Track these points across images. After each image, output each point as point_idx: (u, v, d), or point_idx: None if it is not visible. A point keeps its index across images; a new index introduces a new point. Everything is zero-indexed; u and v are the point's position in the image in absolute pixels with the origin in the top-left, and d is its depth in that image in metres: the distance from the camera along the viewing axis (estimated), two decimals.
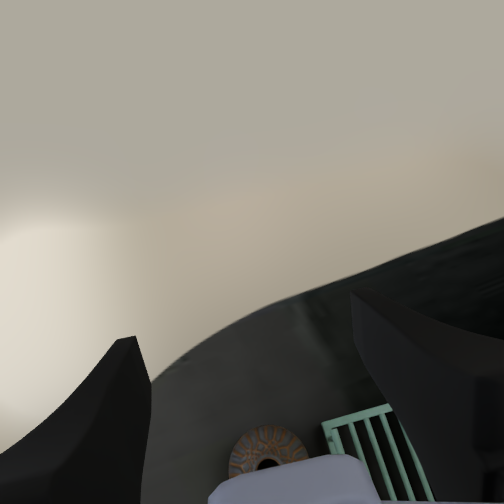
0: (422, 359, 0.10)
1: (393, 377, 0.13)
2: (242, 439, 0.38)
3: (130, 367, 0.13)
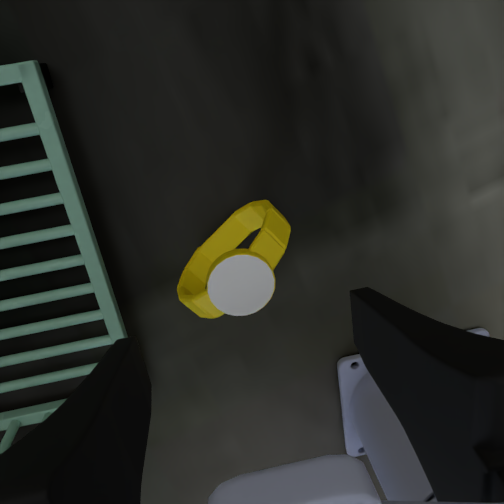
0: (422, 360, 0.10)
1: (393, 377, 0.13)
2: None
3: (130, 367, 0.13)
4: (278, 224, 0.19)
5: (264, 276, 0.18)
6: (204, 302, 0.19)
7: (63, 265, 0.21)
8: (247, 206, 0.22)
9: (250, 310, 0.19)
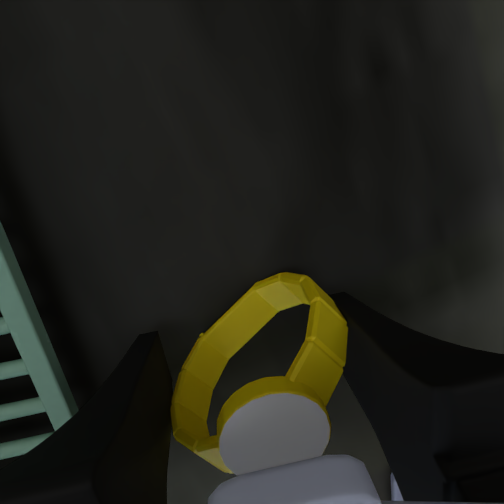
0: (389, 367, 0.10)
1: (366, 383, 0.13)
2: None
3: (154, 362, 0.13)
4: (331, 324, 0.12)
5: (313, 423, 0.11)
6: (213, 455, 0.12)
7: None
8: (275, 279, 0.15)
9: None
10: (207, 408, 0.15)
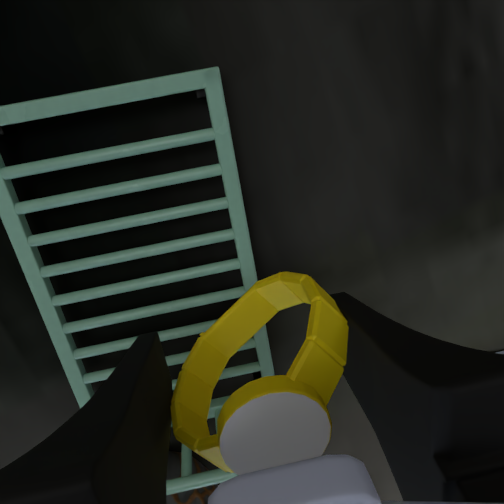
0: (389, 367, 0.10)
1: (366, 383, 0.13)
2: None
3: (154, 362, 0.13)
4: (331, 323, 0.12)
5: (313, 422, 0.11)
6: (213, 454, 0.12)
7: (220, 269, 0.21)
8: (275, 278, 0.15)
9: None
10: (208, 406, 0.15)
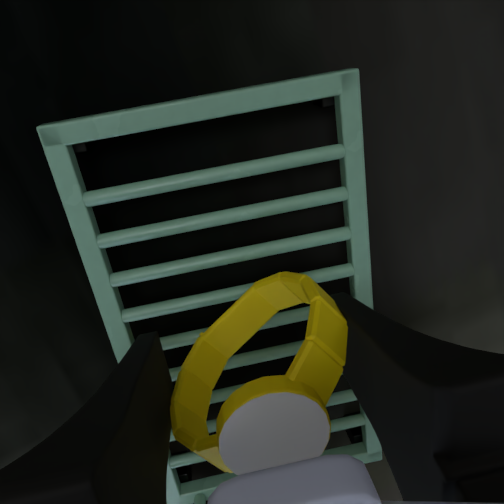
0: (388, 367, 0.10)
1: (365, 383, 0.13)
2: None
3: (154, 362, 0.13)
4: (331, 323, 0.12)
5: (313, 422, 0.11)
6: (212, 455, 0.12)
7: None
8: (275, 278, 0.15)
9: None
10: (207, 407, 0.15)
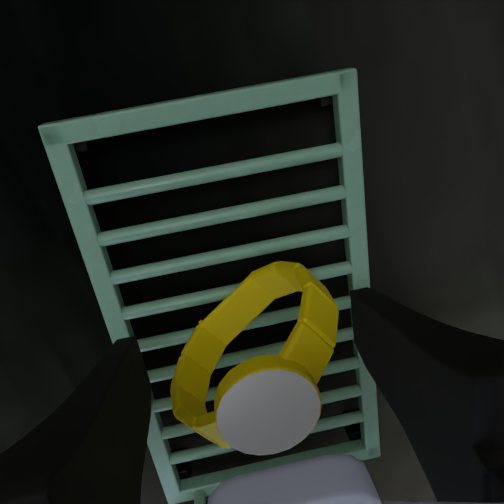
0: (422, 359, 0.10)
1: (393, 377, 0.13)
2: None
3: (130, 367, 0.13)
4: (322, 308, 0.13)
5: (304, 398, 0.12)
6: (210, 430, 0.12)
7: None
8: (270, 268, 0.16)
9: (282, 446, 0.12)
10: (206, 390, 0.16)
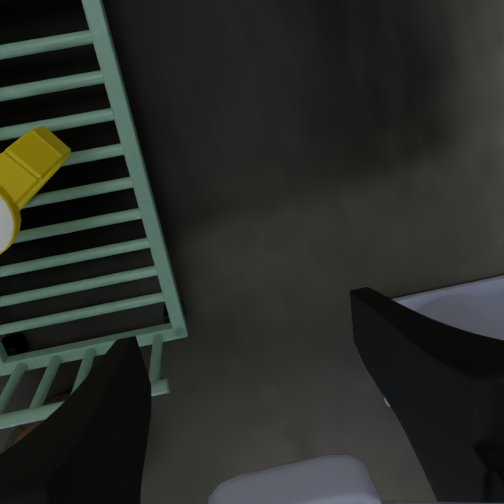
0: (422, 360, 0.10)
1: (393, 377, 0.13)
2: None
3: (130, 367, 0.13)
4: (36, 149, 0.15)
5: None
6: None
7: (111, 187, 0.20)
8: None
9: None
10: None
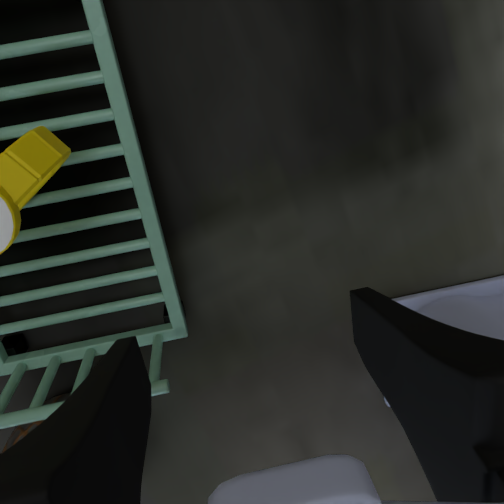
0: (422, 360, 0.10)
1: (393, 377, 0.13)
2: None
3: (130, 367, 0.13)
4: (36, 149, 0.15)
5: None
6: None
7: (111, 187, 0.20)
8: None
9: None
10: None
